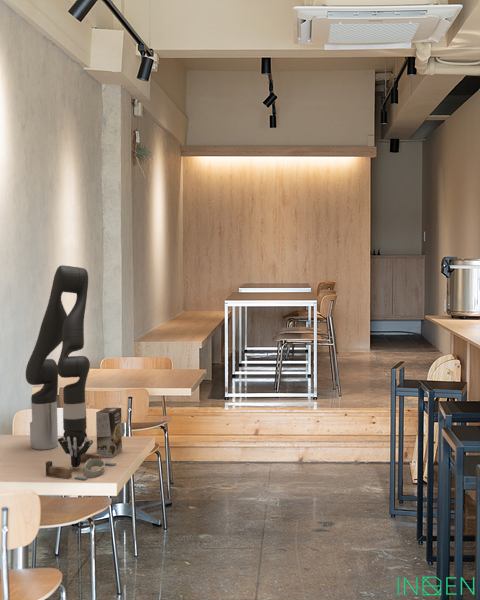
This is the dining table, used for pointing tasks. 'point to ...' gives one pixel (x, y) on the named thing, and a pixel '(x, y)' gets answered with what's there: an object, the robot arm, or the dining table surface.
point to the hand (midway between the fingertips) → (75, 466)
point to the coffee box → (109, 432)
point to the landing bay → (87, 477)
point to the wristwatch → (93, 463)
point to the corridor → (66, 472)
